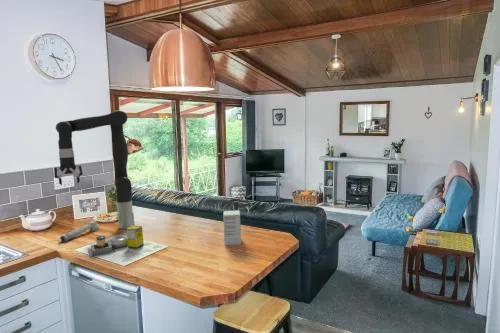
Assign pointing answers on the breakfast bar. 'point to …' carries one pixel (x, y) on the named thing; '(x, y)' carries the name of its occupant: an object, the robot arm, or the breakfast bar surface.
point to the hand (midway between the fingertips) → (69, 183)
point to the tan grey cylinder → (101, 242)
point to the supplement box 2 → (232, 227)
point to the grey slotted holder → (107, 247)
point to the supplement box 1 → (135, 236)
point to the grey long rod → (80, 231)
